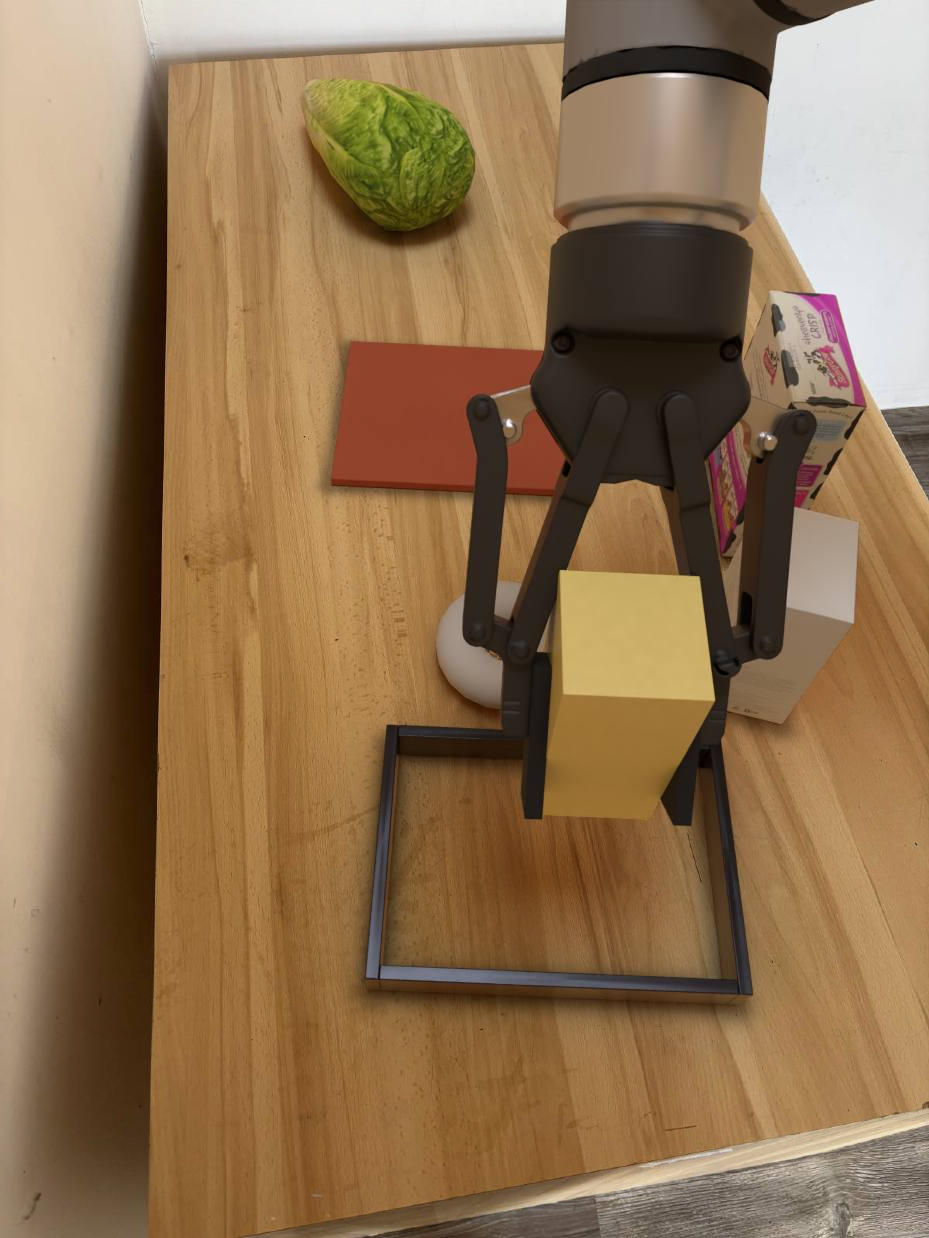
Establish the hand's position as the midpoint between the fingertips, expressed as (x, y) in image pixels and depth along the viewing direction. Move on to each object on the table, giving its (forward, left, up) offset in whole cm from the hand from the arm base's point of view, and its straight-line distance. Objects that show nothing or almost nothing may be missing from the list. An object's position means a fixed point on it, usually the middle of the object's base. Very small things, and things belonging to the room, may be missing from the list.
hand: (603, 808), depth 40 cm
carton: (0, -4, -4) cm, 5 cm away
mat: (+7, -42, -19) cm, 46 cm away
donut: (+3, -19, -19) cm, 27 cm away
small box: (-14, -19, -19) cm, 30 cm away
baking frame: (0, -4, -19) cm, 20 cm away
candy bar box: (-16, -34, -19) cm, 42 cm away
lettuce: (+17, -75, -19) cm, 79 cm away
